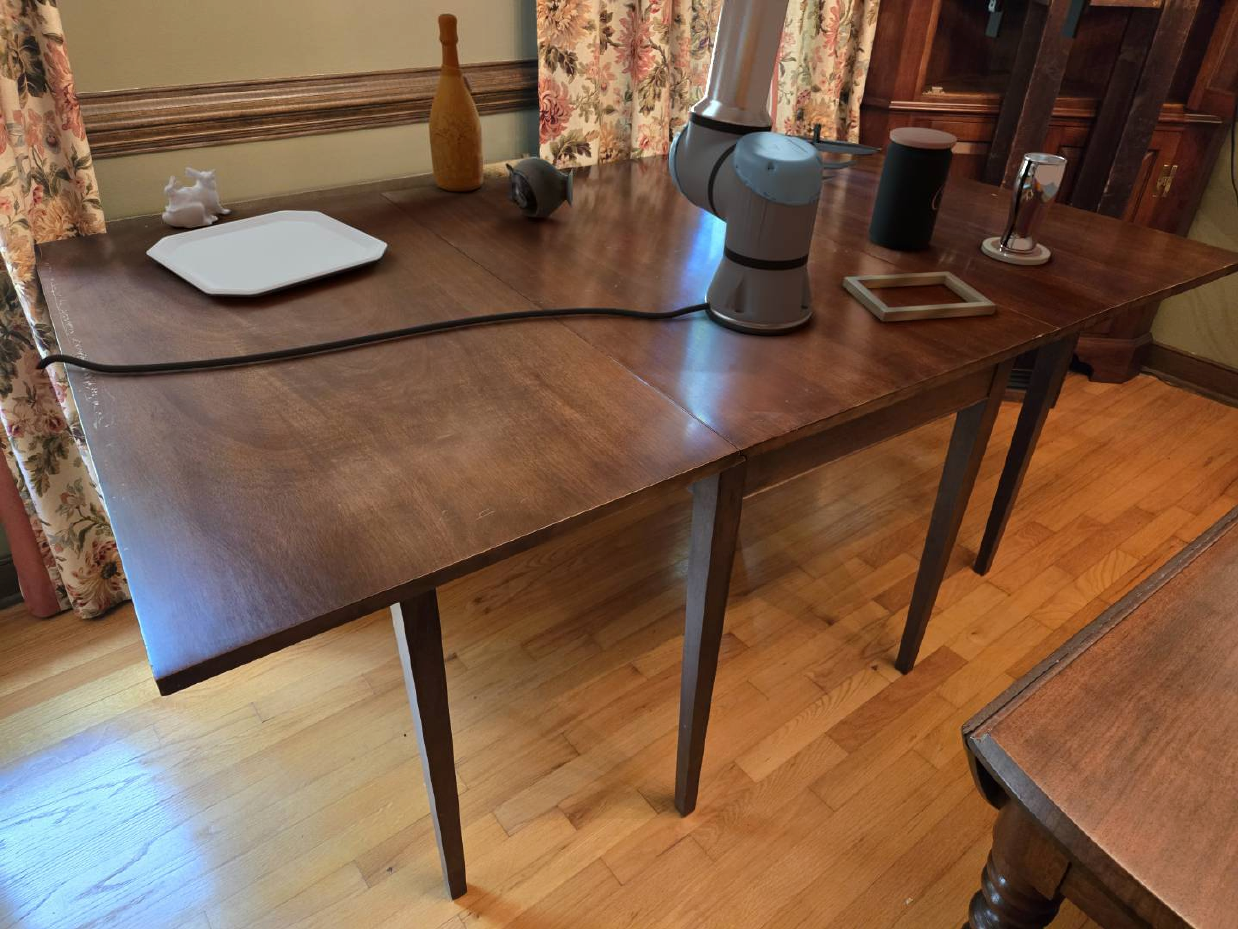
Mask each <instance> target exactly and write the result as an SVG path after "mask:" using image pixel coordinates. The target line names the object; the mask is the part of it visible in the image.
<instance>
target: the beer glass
mask: <svg viewBox="0 0 1238 929" xmlns="http://www.w3.org/2000/svg"><path fill="white" fill-rule="evenodd" d="M1067 162H1068V160H1067V159H1066V158H1064V157H1062V156H1059V155H1056V154H1051V153H1045V152H1044V153H1043V152H1028V153H1025V154H1024V155H1023V157H1022V160H1021V163H1020V165H1019V168H1018V169H1017V173H1016V176H1015V179H1014V182H1013V185H1012V190H1011V195H1010V202H1009V210H1008V217H1007V222H1006V225H1005V228H1004V231H1003V232H1002V235H1001V236H1000V237H1001V238H1000V240H999V243H998V245H999V247H1001V248H1002V249H1004V250H1007V251H1010V252H1014V253H1022V254H1028V253H1033V252H1035V250H1036V246H1037V244H1038V238H1039V234H1040V231H1041V228H1042V225H1043V223H1044V221H1045V220H1046V217H1047V215H1048V214H1049V212H1050V210H1051V208H1052V206H1053V205H1054V202H1055V200H1056V198H1057V196H1058V193H1059V191H1060V188H1061V185H1062V182H1063V178H1064V176H1065V170H1066V166H1067Z"/></svg>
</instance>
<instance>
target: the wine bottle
mask: <svg viewBox="0 0 1238 929" xmlns="http://www.w3.org/2000/svg"><path fill="white" fill-rule="evenodd" d="M437 22H438V23H437V24H438V28H439V37H438V40H439V43H440V44H441V54H442V56H441V57H442V58H441V61H442V62H441V66H440V78H439V81H438V84H437V88H436V90H435V94H434V97H433V99H432V102H431V103H432V104H431V108H430V113H429V120H428V132H429V133H428V134H429V145H430V155H431V165H432V173H433V179H434V184H435V185H436V186H437V187H438V188H439V189H441V190H445V191H448V192H469V191H473V190H476V189H478V188H480V187H481V186H482V185H483V184H484V152H483V150H484V149H483V133H482V123H481V119H480V115H479V112H478V109H477V106H476V104H475V100H474V99H473V97H472V94H471V93H474V90H473V87H472V84H471V81H470V79H469V77H468V76H467V75H465V73H464V72H463V70H462V68H461V65H460V61H459V52H458V48H457V45H458V43H459V36H458V18H457V16H456V15H454V14H452V13H441V14H439V16H438V18H437Z"/></svg>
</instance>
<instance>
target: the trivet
mask: <svg viewBox="0 0 1238 929" xmlns="http://www.w3.org/2000/svg"><path fill="white" fill-rule="evenodd" d="M1001 237H1002V236H994V237H989V238H986V239H984V240H983V241H982V244H981V251H982V252H983V253H984V254H985V255H986V256H989V257H990V258H992V259H995V260H997V261H1000V262H1004V263H1008V264H1014V265H1019V266H1020V265H1021V266H1039V265H1043V264H1046V263H1048V261H1050V258H1051V251H1050V250H1049V249H1048V248H1047V247H1045V246H1044V245H1041V244H1039V243H1037V246H1036V250H1035V252H1033V253H1028V254H1022V253H1014V252H1010V251H1007V250H1004V249H1002V248H1001V247H999V245H998V243H999V240H1000V238H1001Z"/></svg>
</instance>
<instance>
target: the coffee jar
mask: <svg viewBox="0 0 1238 929" xmlns="http://www.w3.org/2000/svg"><path fill="white" fill-rule="evenodd" d="M889 139H890V141H891V142H890V143H889V144H888V146H887V148H886V150H885V155H884V160H883V165H882V170H881V174H880V177H879V183H878V188H877V192H876V196H875V201H874V206H873V210H872V215H871V220H870V225H869V230H868V233H869V235H870V239H871V241H872V243H874V244H876V245H877V246H880V247H883V248H886V249H890V250H895V251H903V252H914V251H921V250H923V249H924V248H926V246H927V245H929V243H930V242H931V241H932V239H933V238H932V237H933V235H934V234H933V233H934V230H935V226H936V222H937V218H938V214H939V210H940V207H941V202H942V199H943V195H944V191H945V188H946V183H947V180H948V177H949V172H950V169H951V165H952V161H953V157H954V152H953V150H952V149H953V148H954V147H955V146H956V145H957V141H958V138H957V137H956V136H955V135H954V134H951V133H950V132H946V131H943V130H938V129H933V128H927V127H911V126H910V127H897V128H894V129H891V130H890V133H889Z"/></svg>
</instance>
